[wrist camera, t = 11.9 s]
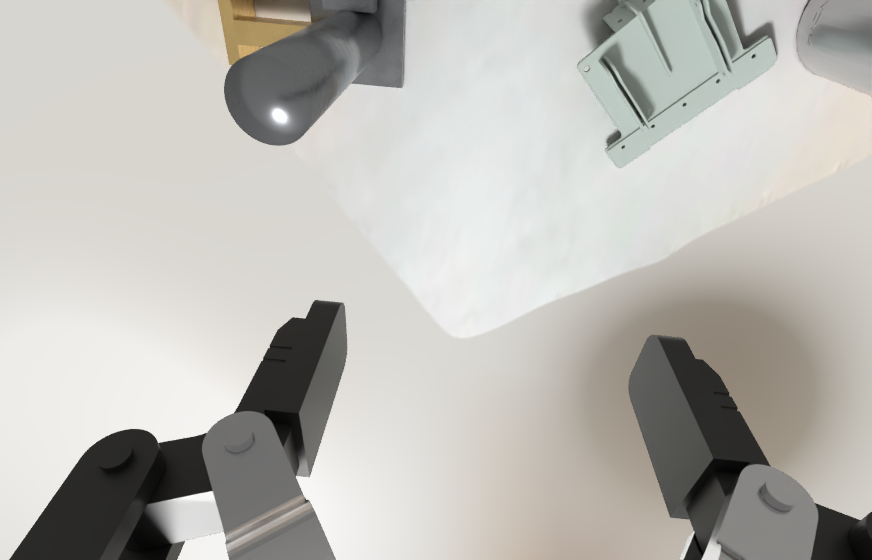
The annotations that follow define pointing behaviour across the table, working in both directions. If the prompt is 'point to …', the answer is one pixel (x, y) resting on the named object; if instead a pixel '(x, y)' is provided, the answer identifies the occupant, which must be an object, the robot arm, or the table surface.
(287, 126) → the square post stand
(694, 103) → the metal bracket
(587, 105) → the table surface
